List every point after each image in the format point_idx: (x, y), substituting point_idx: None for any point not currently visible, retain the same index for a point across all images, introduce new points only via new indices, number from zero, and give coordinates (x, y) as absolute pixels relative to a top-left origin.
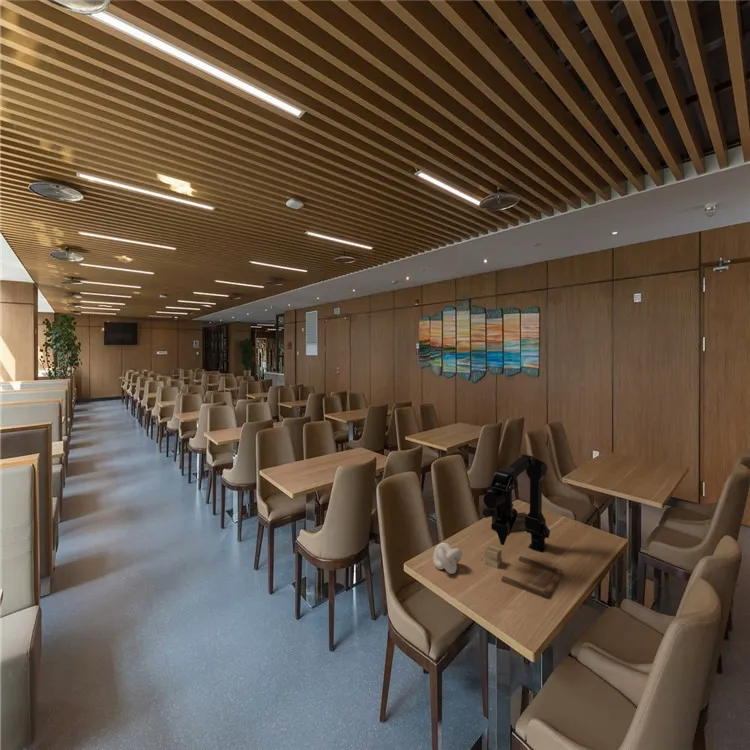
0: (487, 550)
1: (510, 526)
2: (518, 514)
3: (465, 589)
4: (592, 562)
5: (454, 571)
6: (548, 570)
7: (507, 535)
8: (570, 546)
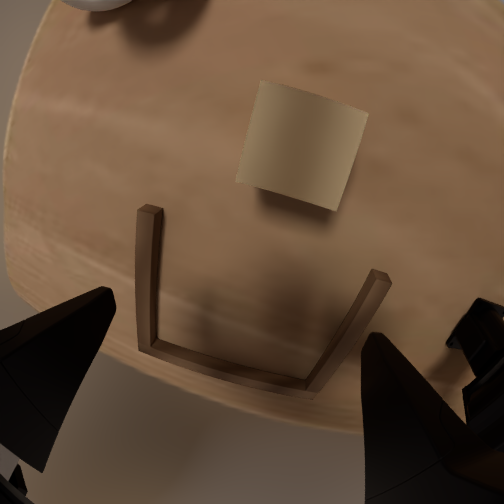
0: (266, 98)
1: (376, 458)
2: None
3: (50, 95)
4: None
5: (97, 10)
6: (317, 363)
7: (58, 414)
8: None
